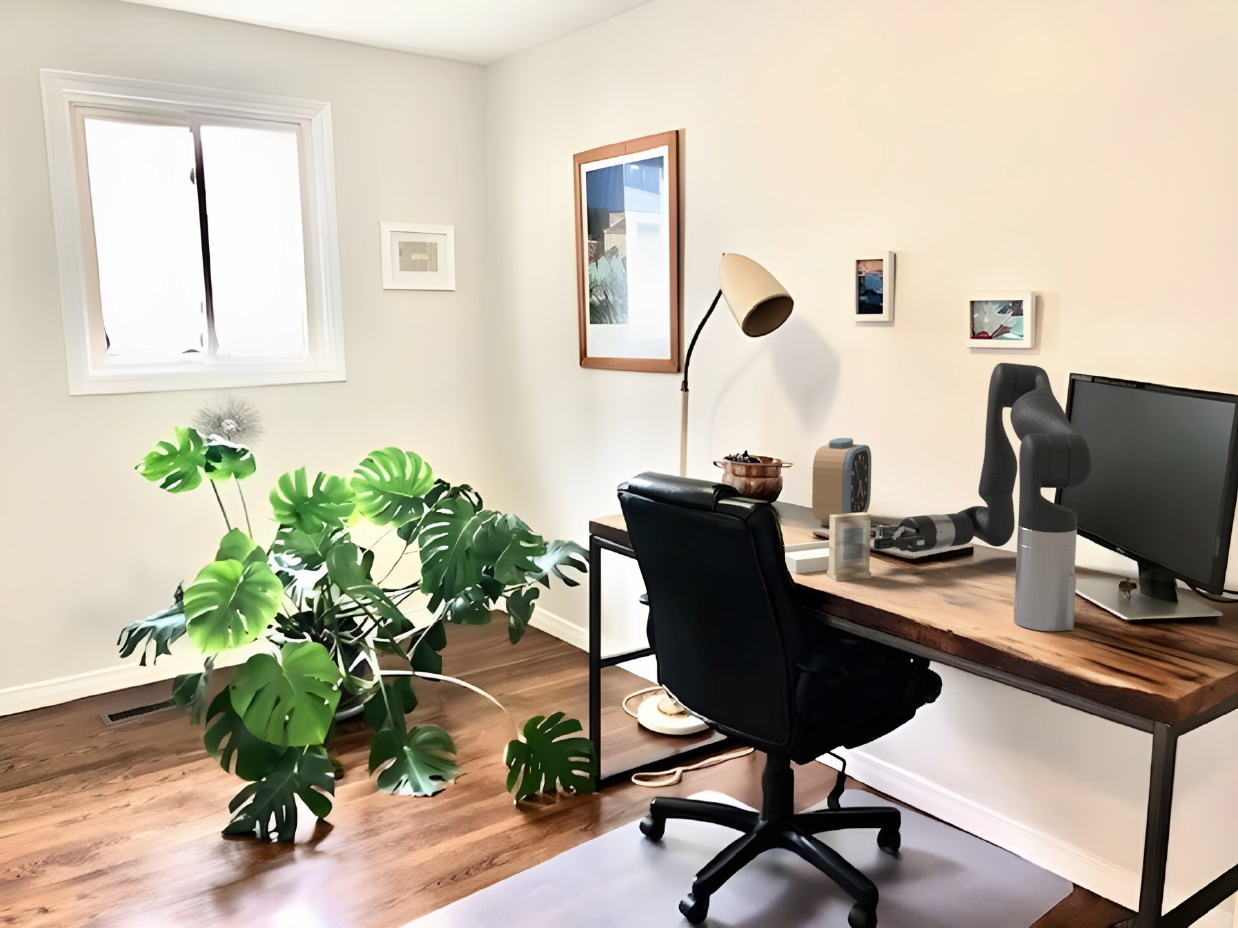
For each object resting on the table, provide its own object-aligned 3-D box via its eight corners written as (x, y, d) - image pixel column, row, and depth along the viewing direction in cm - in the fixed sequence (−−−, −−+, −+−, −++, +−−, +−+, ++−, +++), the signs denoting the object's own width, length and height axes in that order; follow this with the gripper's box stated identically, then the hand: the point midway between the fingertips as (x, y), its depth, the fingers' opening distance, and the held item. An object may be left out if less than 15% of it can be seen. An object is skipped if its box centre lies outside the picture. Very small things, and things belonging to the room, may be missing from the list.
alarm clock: (848, 531, 240) (850, 446, 237) (811, 528, 245) (813, 444, 241) (870, 516, 258) (872, 436, 254) (836, 513, 262) (837, 435, 259)
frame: (861, 573, 201) (862, 511, 199) (871, 577, 198) (872, 515, 196) (826, 576, 199) (827, 514, 197) (835, 581, 196) (837, 517, 194)
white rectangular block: (831, 558, 214) (831, 540, 213) (852, 566, 206) (852, 547, 206) (776, 565, 209) (776, 546, 208) (796, 573, 201) (796, 554, 201)
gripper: (906, 509, 210) (843, 515, 204) (950, 521, 197) (884, 529, 191) (905, 542, 211) (842, 550, 206) (948, 557, 198) (883, 565, 192)
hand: (862, 539), depth 198 cm, fingers open, 8 cm apart
